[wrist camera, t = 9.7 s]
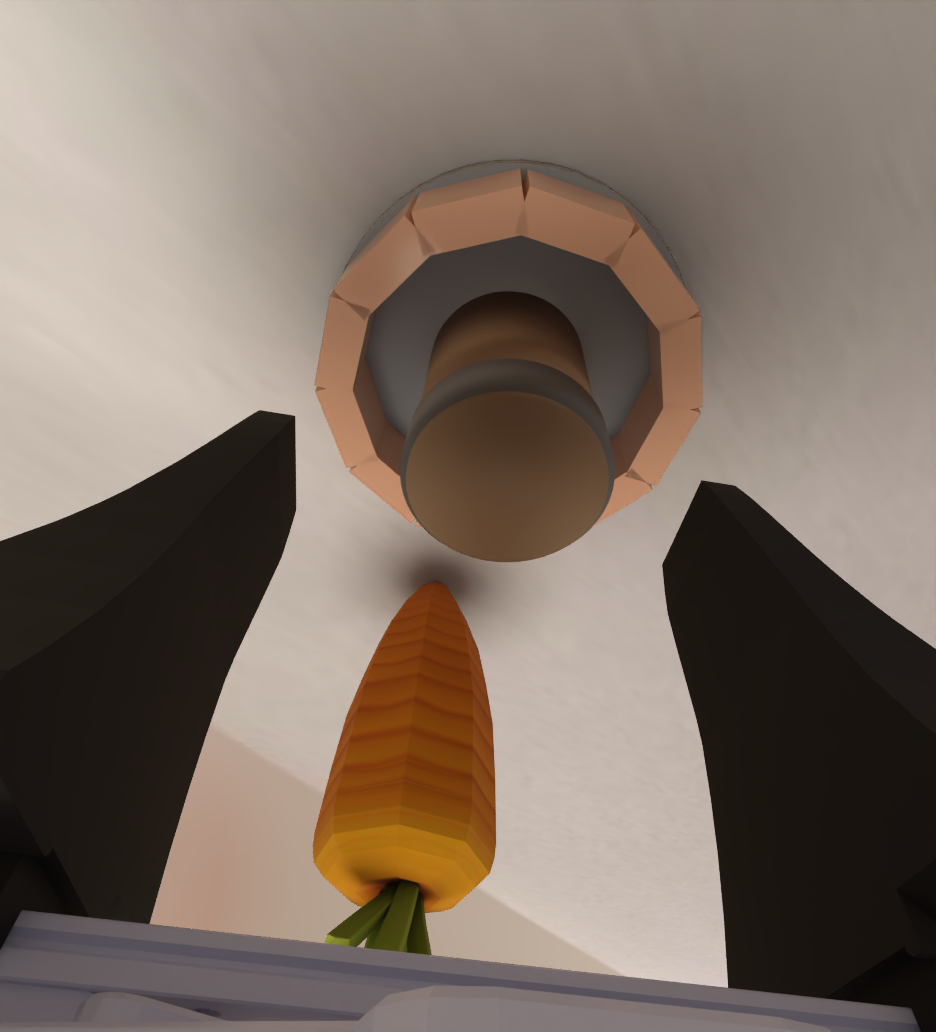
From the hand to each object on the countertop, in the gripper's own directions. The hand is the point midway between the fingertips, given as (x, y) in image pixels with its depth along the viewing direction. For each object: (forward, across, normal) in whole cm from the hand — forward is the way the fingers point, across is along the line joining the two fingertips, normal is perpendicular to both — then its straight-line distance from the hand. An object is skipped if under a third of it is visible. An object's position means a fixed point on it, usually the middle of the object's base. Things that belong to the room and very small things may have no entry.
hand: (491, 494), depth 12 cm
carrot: (+9, 0, +11) cm, 14 cm away
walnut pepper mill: (+8, 0, +1) cm, 8 cm away
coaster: (+9, 0, +1) cm, 9 cm away
